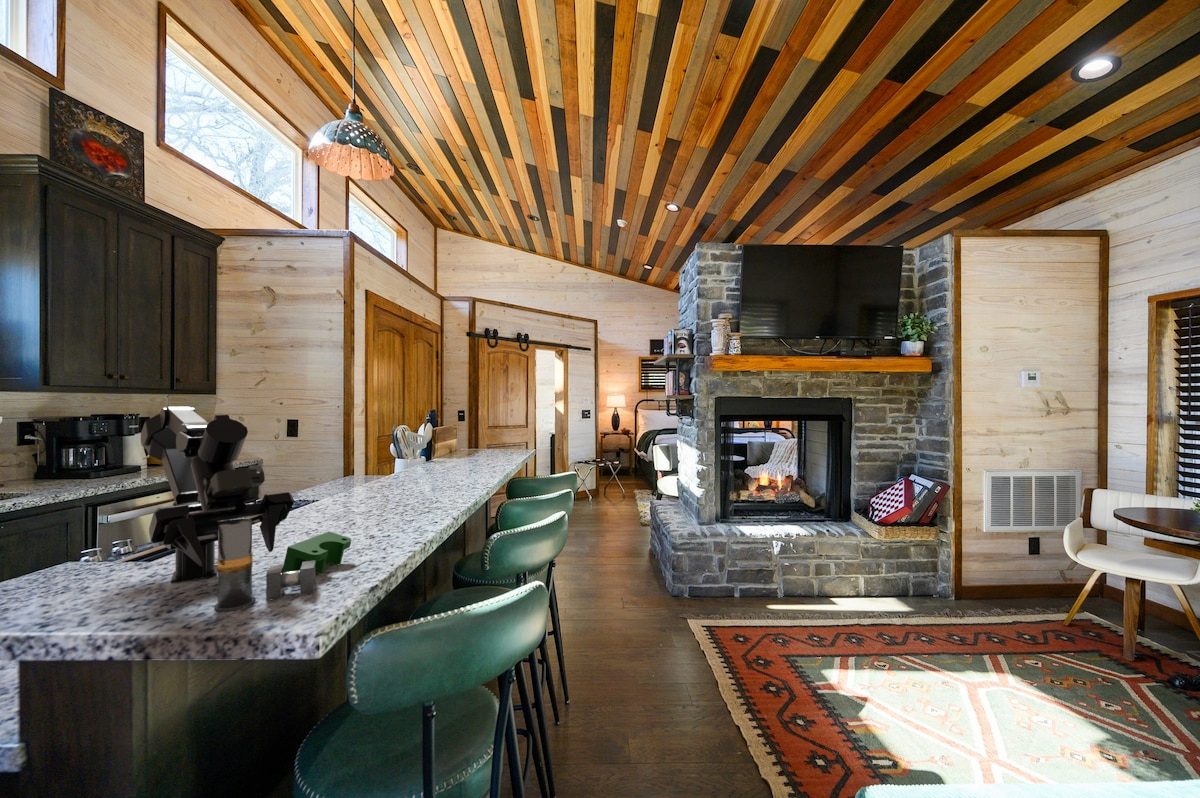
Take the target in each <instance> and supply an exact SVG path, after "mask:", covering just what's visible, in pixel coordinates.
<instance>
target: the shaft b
mask: <svg viewBox="0 0 1200 798" xmlns="http://www.w3.org/2000/svg"><path fill="white" fill-rule="evenodd" d="M265 574H266V578H265V581H266V583H265V585H266V586H265V587H266V588H265V592H266V594H265V599H266V600H267V601H272V600H271V599H274V600H279V599H278V598H280V599H281V598H282V596H283V593H282V592H284V590H285V589H287V588H294V587H299V596H305V595H312V594H314V593H315V589H316V574H317V573H316V560H314V561H306V562H302V566H301V569H300V570H297V571H290V572H284V563H283V564H275V565H269V567H268V570H267V572H266V573H265ZM281 595H282V596H281Z"/></svg>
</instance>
